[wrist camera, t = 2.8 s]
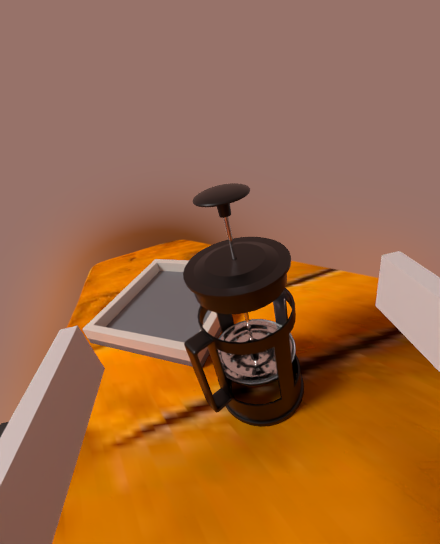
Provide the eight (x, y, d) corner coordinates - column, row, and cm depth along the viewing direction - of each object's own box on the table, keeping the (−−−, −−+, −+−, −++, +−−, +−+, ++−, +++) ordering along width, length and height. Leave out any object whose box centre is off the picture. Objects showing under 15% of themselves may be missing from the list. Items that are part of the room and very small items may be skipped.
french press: (265, 338, 38) (235, 163, 25) (325, 381, 31) (324, 169, 18) (194, 394, 33) (115, 211, 21) (246, 460, 26) (173, 243, 14)
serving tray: (250, 276, 51) (247, 263, 49) (201, 368, 36) (195, 352, 34) (159, 271, 59) (155, 259, 58) (90, 342, 44) (82, 329, 43)
